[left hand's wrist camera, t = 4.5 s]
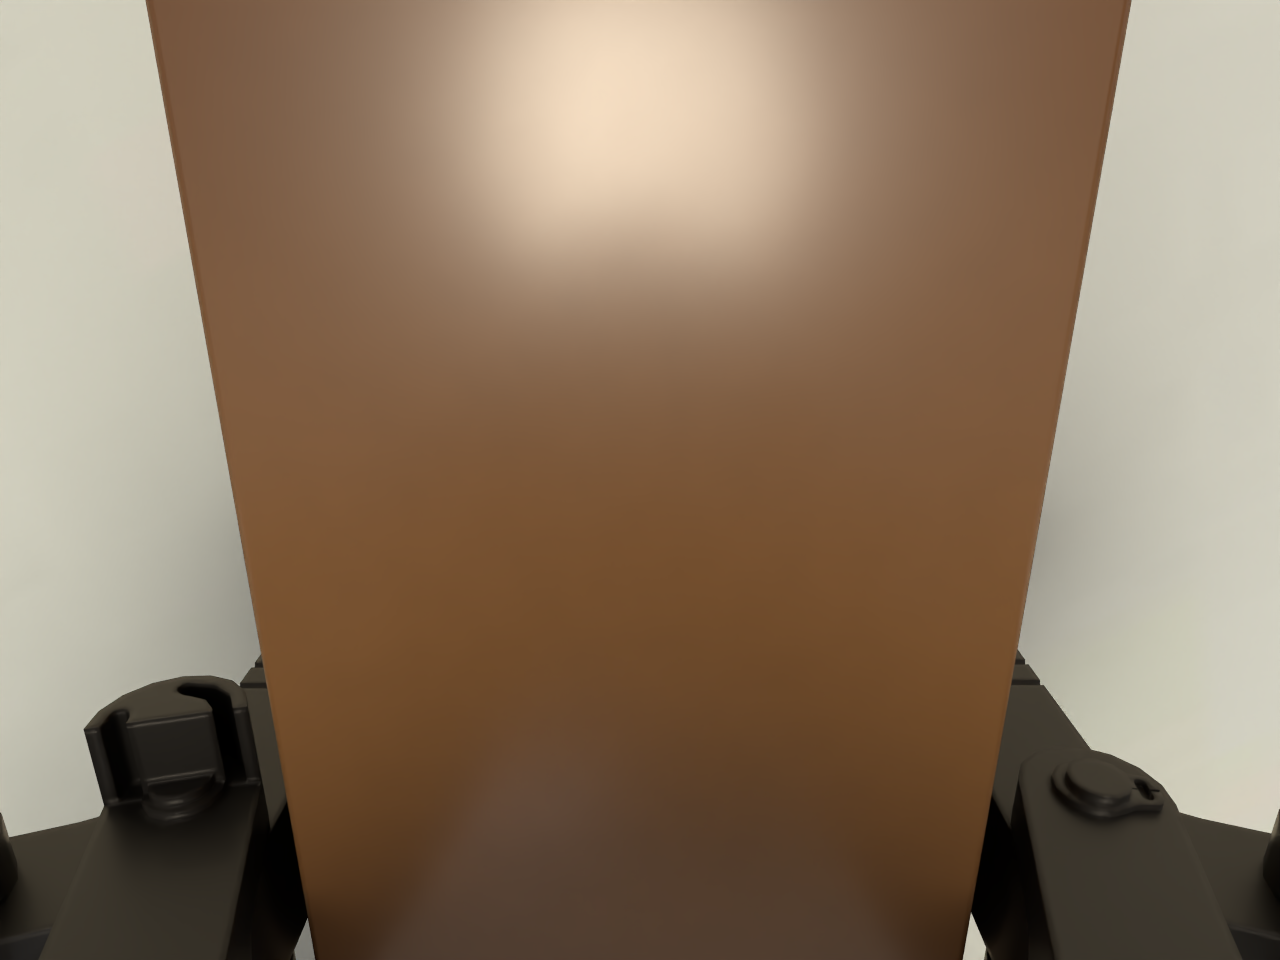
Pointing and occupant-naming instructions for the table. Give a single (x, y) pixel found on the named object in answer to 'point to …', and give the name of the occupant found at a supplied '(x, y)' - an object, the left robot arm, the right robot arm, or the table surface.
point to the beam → (638, 446)
